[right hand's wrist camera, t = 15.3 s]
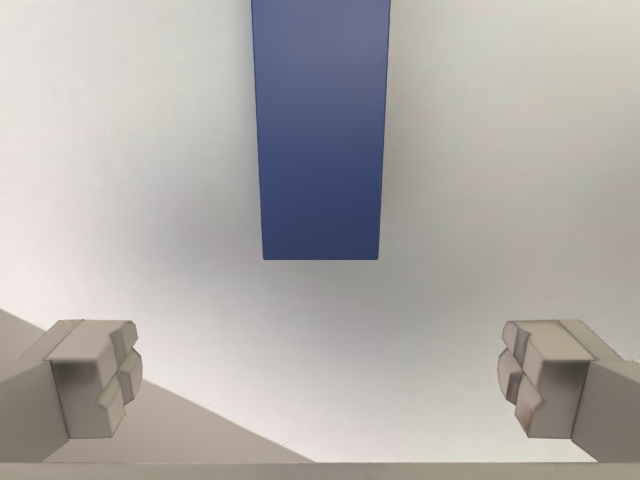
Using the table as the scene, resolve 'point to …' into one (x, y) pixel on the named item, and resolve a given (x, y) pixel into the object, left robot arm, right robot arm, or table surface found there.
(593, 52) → the table surface
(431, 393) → the table surface
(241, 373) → the table surface
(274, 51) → the box
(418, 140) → the table surface
